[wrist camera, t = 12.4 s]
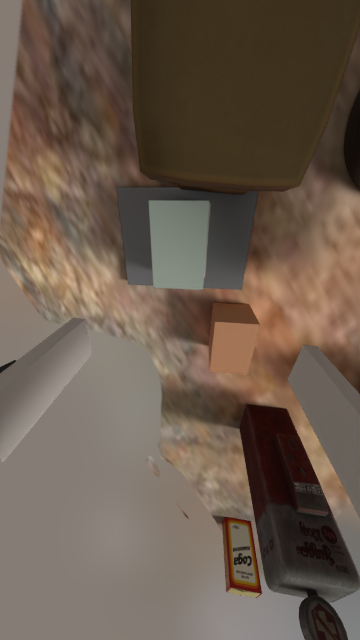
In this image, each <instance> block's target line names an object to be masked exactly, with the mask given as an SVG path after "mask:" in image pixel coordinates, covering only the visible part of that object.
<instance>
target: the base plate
mask: <svg viewBox="0 0 360 640" xmlns="http://www.w3.org/2000/svg"><path fill="white" fill-rule="evenodd" d="M116 188H117V196H118V204H119V213H120V221H121V230H122V238H123V246H124V255H125V263H126V272H127V280H128V284H131V285H152V286H153V269H152V251H151V234H150V216H149V200H153V201H209V213H208V227H207V241H206V255H205V270H204V284H203V288H215V289H237V290H242V285H243V279H244V273H245V267H246V261H247V255H248V250H249V244H250V238H251V232H252V226H253V220H254V214H255V209H256V203H257V197H258V191H248V192H247V193H245V194H243V195H234V194H224V193H213V192H203V191H193V190H182V189H180V187H116Z"/></svg>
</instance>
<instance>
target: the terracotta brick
mask: <svg viewBox="0 0 360 640" xmlns="http://www.w3.org/2000/svg"><path fill="white" fill-rule="evenodd" d="M259 327H260V324H259V322H258V320H257V318H256V316H255V314H254V312H253V310H252V308H251V307H250V305H249V304H231V303H213V309H212V318H211V328H210V338H209V371H214V372H225V373H236V374H248V372H249V368H250V364H251V360H252V356H253V352H254V347H255V343H256V339H257V335H258V331H259Z"/></svg>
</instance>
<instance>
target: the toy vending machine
mask: <svg viewBox="0 0 360 640" xmlns="http://www.w3.org/2000/svg"><path fill="white" fill-rule="evenodd" d="M240 433H241V439H242V445H243V451H244V457H245V463H246V469H247V475H248V481H249V487H250V493H251V499H252V504H253V510H254V516H255V522H256V528H257V534H258V540H259V546H260V552H261V558H262V564H263V570H264V575H265V580H266V583H267V586H268V587H269V589H271V590H272V591H273V592H278V593H283V594H288V595H293V596H299V597H304V598H306V599H304V600H303V601H302V602H301V605H300V607H299V620H300V626H301V629H302V632H303V636H304V638H305V640H348V637H347V633H346V630H345V628H344V626H343V623H342V621H341V619H340V618H339V616H338V614H337V613H336V611H335V610H334V609H333V607H332V606H331V605H330V604H329V603H328V602H330V603H332V602H335V601H337V600H339V599H341V598H343V597H345V596H347V595H350V594H351V593H353V592H356V591H358V590H359V589H360V576H359V574H358V571H357V569H356V567H355V564H354V562H353V560H352V558H351V555H350V553H349V551H348V548H347V546H346V544H345V541H344V539H343V537H342V535H341V532H340V530H339V528H338V525H337V523H336V521H335V518H334V516H333V514H332V512H331V509H330V507H329V505H328V502H327V500H326V498H325V495H324V493H323V491H322V488H321V485H320V483H319V481H318V478H317V476H316V474H315V472H314V469H313V467H312V465H311V462H310V460H309V458H308V455H307V453H306V451H305V449H304V446H303V444H302V442H301V439H300V437H299V436H298V433H297V431H296V429H295V426H294V424H293V422H292V420H291V417H290V415H289V413H288V410H287V409H282V408H273V407H264V406H255V405H246V407H245V410H244V414H243V418H242V421H241V425H240Z"/></svg>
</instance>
